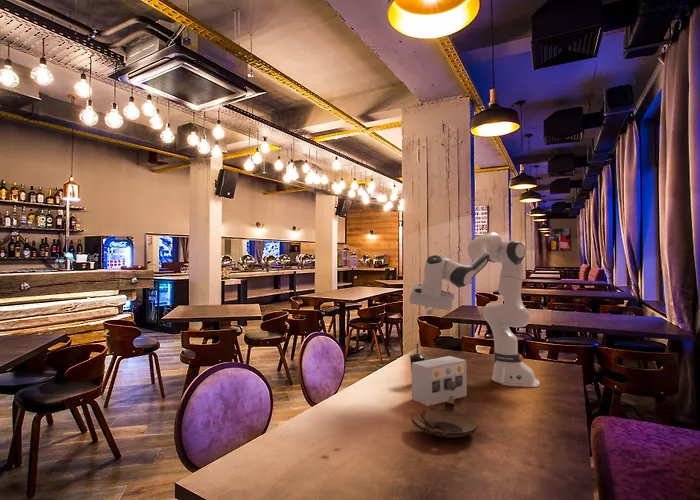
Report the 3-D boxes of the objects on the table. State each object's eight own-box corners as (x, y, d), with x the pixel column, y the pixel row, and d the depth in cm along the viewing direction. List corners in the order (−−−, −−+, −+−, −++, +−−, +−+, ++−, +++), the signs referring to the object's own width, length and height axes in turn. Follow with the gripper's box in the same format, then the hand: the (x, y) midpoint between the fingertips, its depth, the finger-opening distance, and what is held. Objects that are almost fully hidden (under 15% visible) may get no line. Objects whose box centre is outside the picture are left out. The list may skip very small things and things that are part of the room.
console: (467, 396, 175) (467, 360, 176) (428, 406, 162) (428, 368, 163) (450, 389, 184) (449, 355, 185) (411, 399, 171) (411, 362, 172)
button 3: (439, 390, 167) (439, 381, 167) (433, 392, 165) (432, 382, 165) (434, 388, 169) (434, 379, 169) (428, 390, 167) (427, 381, 167)
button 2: (456, 389, 168) (456, 380, 168) (449, 391, 166) (449, 381, 166) (451, 387, 171) (451, 378, 171) (444, 389, 168) (444, 380, 169)
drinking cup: (424, 382, 196) (424, 342, 197) (426, 386, 189) (425, 345, 190) (409, 381, 197) (409, 342, 198) (410, 386, 189) (410, 345, 190)
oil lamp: (397, 435, 135) (397, 412, 136) (442, 411, 157) (442, 392, 157) (455, 457, 120) (455, 431, 120) (496, 427, 141) (496, 406, 142)
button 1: (462, 385, 174) (461, 376, 174) (455, 386, 172) (455, 377, 172) (456, 383, 177) (456, 374, 177) (450, 385, 175) (450, 376, 175)
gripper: (455, 289, 182) (452, 314, 188) (412, 282, 188) (410, 306, 194) (453, 295, 177) (450, 321, 182) (409, 288, 183) (407, 313, 189)
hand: (429, 313), depth 188 cm, fingers closed
